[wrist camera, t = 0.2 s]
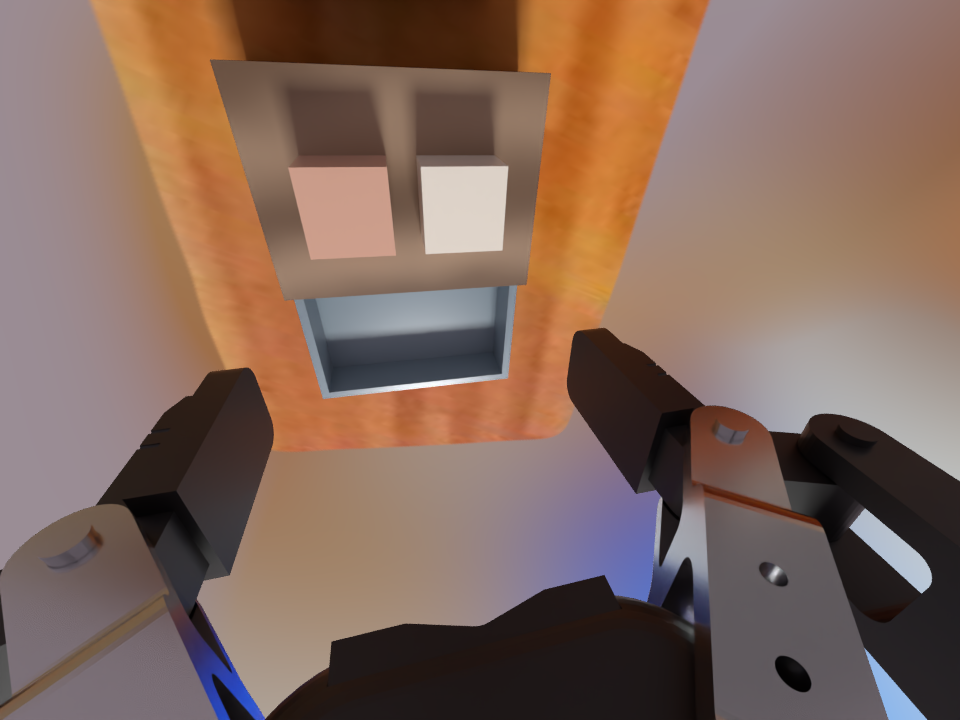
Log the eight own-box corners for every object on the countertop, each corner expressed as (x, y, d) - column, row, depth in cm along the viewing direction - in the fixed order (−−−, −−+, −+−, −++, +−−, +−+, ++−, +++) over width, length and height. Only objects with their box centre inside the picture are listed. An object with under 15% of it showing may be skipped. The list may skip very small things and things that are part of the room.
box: (300, 266, 29) (291, 290, 26) (504, 256, 32) (517, 276, 29) (328, 369, 35) (323, 398, 32) (497, 352, 38) (507, 378, 35)
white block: (416, 155, 21) (420, 166, 19) (494, 155, 22) (508, 166, 19) (421, 235, 24) (425, 254, 21) (490, 232, 24) (502, 250, 22)
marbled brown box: (246, 60, 22) (209, 59, 17) (518, 71, 25) (550, 73, 20) (299, 262, 29) (284, 300, 24) (504, 252, 32) (526, 284, 27)
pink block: (298, 155, 20) (288, 167, 17) (385, 155, 21) (387, 166, 18) (317, 239, 22) (310, 259, 20) (394, 236, 23) (396, 255, 21)
